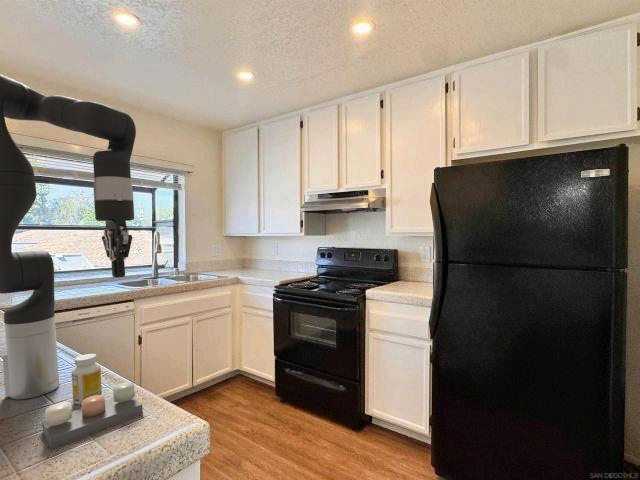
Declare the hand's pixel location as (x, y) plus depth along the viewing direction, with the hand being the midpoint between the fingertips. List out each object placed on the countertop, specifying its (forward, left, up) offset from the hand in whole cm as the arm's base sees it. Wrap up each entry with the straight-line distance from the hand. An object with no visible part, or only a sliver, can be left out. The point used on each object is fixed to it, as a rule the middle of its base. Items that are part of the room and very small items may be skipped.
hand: (118, 277), depth 79 cm
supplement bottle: (-8, -1, -27) cm, 28 cm away
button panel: (0, -11, -27) cm, 29 cm away
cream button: (-4, -15, -24) cm, 29 cm away
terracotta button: (0, -11, -25) cm, 27 cm away
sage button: (+4, -7, -24) cm, 25 cm away
